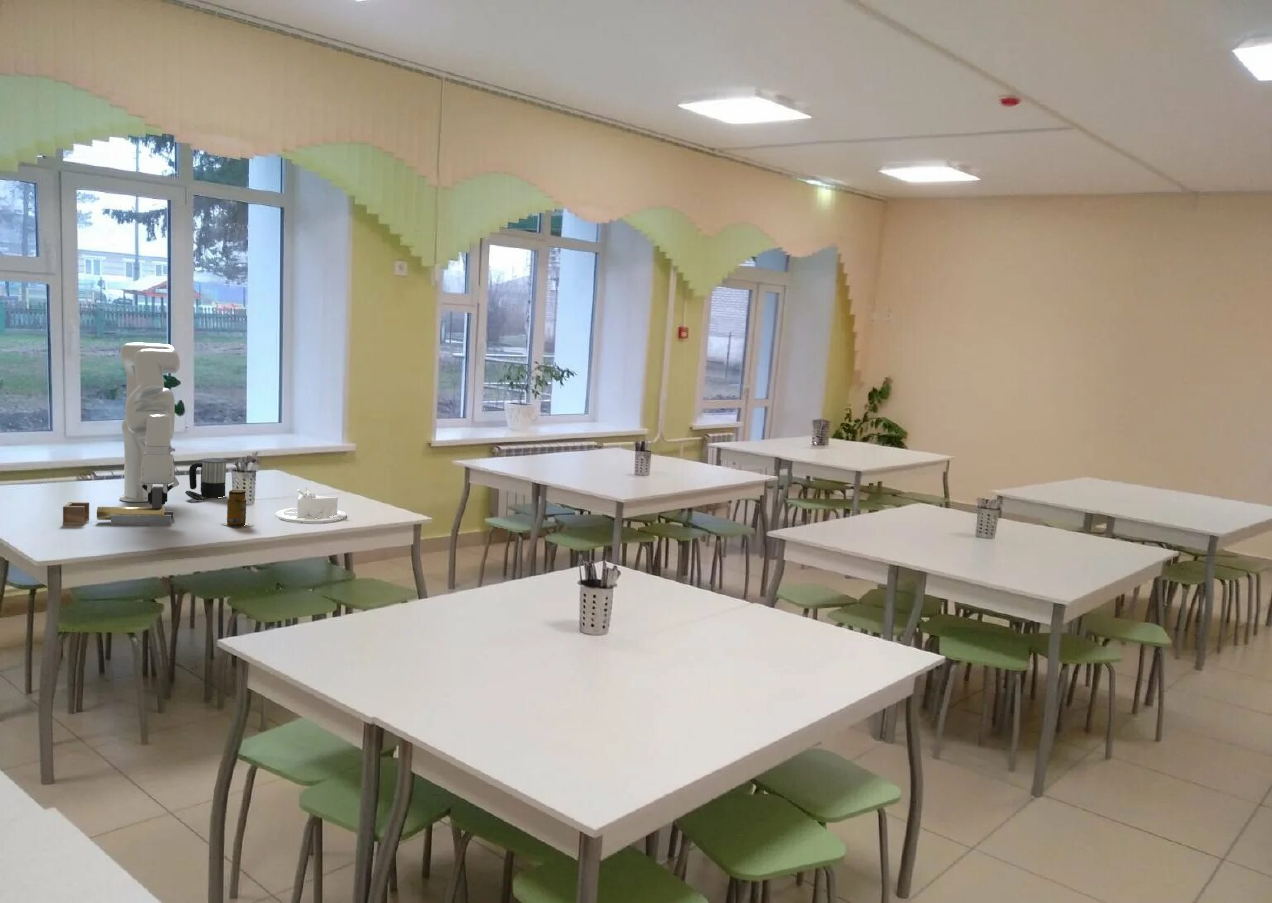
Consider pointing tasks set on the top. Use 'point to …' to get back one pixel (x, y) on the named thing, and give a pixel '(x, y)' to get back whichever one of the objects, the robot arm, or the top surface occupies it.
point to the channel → (143, 519)
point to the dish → (312, 509)
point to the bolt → (156, 508)
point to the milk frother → (208, 478)
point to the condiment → (236, 509)
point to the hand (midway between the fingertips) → (157, 503)
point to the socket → (75, 513)
